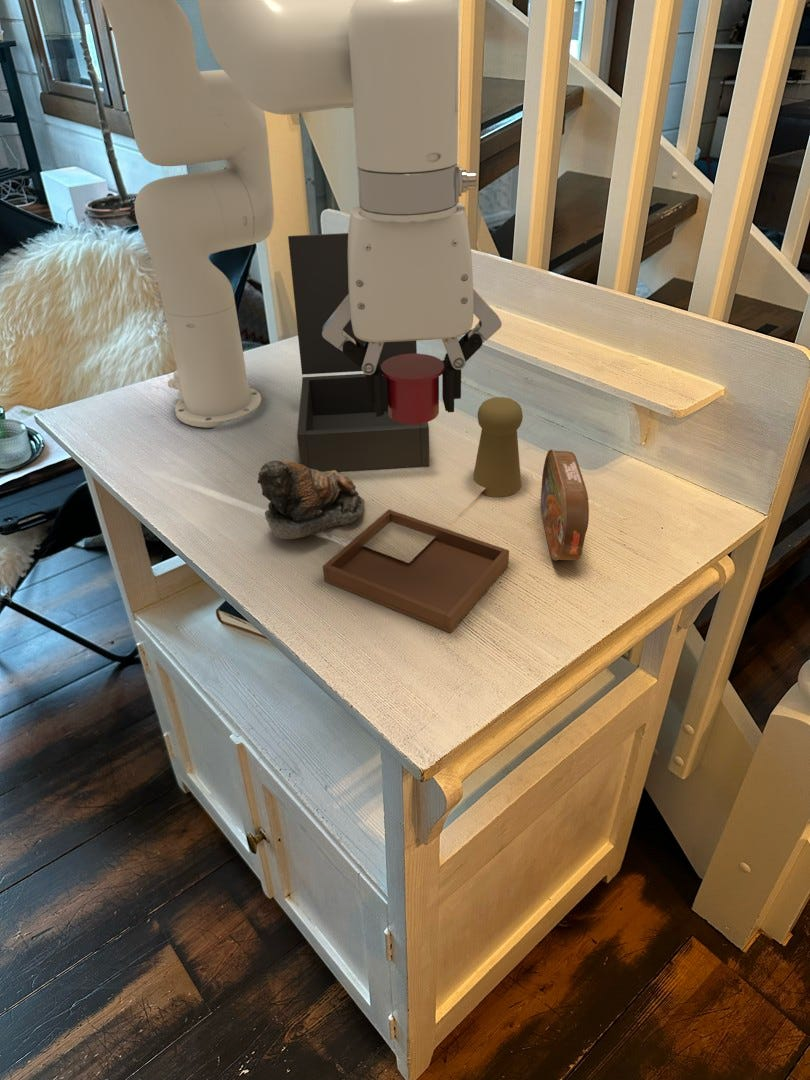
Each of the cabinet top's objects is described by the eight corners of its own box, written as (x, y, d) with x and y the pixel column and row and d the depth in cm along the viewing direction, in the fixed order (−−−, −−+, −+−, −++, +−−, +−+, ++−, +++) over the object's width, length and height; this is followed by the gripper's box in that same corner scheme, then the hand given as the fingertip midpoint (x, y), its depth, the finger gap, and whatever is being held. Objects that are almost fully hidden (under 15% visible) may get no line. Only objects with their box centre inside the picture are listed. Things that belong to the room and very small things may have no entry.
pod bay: (429, 473, 96) (428, 427, 92) (302, 480, 95) (297, 434, 91) (418, 412, 110) (417, 370, 106) (307, 419, 109) (302, 377, 105)
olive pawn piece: (519, 499, 90) (525, 415, 84) (469, 494, 91) (471, 412, 85) (523, 473, 95) (529, 392, 89) (475, 469, 96) (477, 389, 90)
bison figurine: (347, 498, 92) (340, 424, 86) (378, 525, 87) (374, 448, 81) (257, 533, 86) (243, 456, 80) (285, 563, 81) (273, 484, 76)
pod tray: (324, 581, 79) (322, 566, 78) (389, 523, 87) (388, 509, 86) (450, 633, 72) (450, 617, 71) (508, 565, 80) (509, 550, 79)
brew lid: (412, 230, 97) (409, 227, 102) (287, 236, 97) (290, 233, 102) (417, 368, 105) (414, 359, 110) (301, 374, 104) (304, 365, 109)
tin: (538, 498, 90) (543, 435, 86) (564, 497, 90) (571, 435, 85) (554, 577, 78) (561, 509, 73) (584, 577, 78) (594, 509, 73)
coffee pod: (370, 418, 68) (367, 371, 65) (404, 394, 72) (402, 349, 69) (423, 432, 66) (423, 384, 63) (455, 407, 69) (456, 361, 67)
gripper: (510, 176, 61) (501, 385, 72) (297, 186, 60) (319, 396, 71) (529, 196, 55) (516, 421, 65) (292, 207, 54) (317, 433, 65)
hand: (413, 406), depth 68 cm, fingers closed on coffee pod, 5 cm apart
